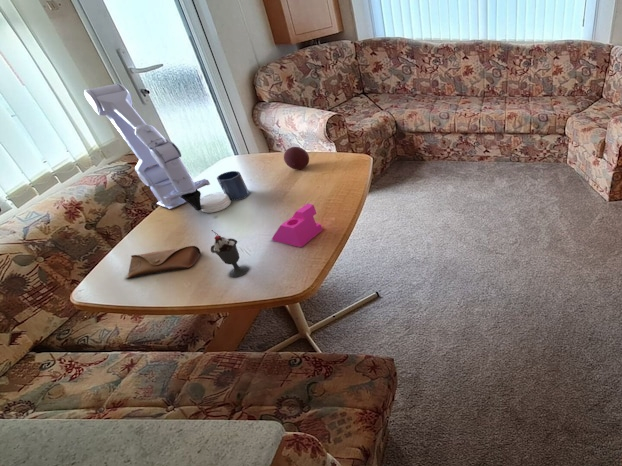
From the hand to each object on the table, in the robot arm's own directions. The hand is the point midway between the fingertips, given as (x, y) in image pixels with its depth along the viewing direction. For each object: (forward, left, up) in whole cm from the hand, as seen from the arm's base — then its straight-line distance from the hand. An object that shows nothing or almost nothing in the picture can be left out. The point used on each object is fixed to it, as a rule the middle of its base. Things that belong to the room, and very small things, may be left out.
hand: (198, 209), depth 140 cm
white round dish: (0, +6, -2) cm, 6 cm away
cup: (0, +15, -2) cm, 15 cm away
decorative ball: (+3, +43, -2) cm, 43 cm away
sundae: (+44, -15, -2) cm, 47 cm away
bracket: (+45, +6, -2) cm, 45 cm away
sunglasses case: (+20, -23, -2) cm, 31 cm away
